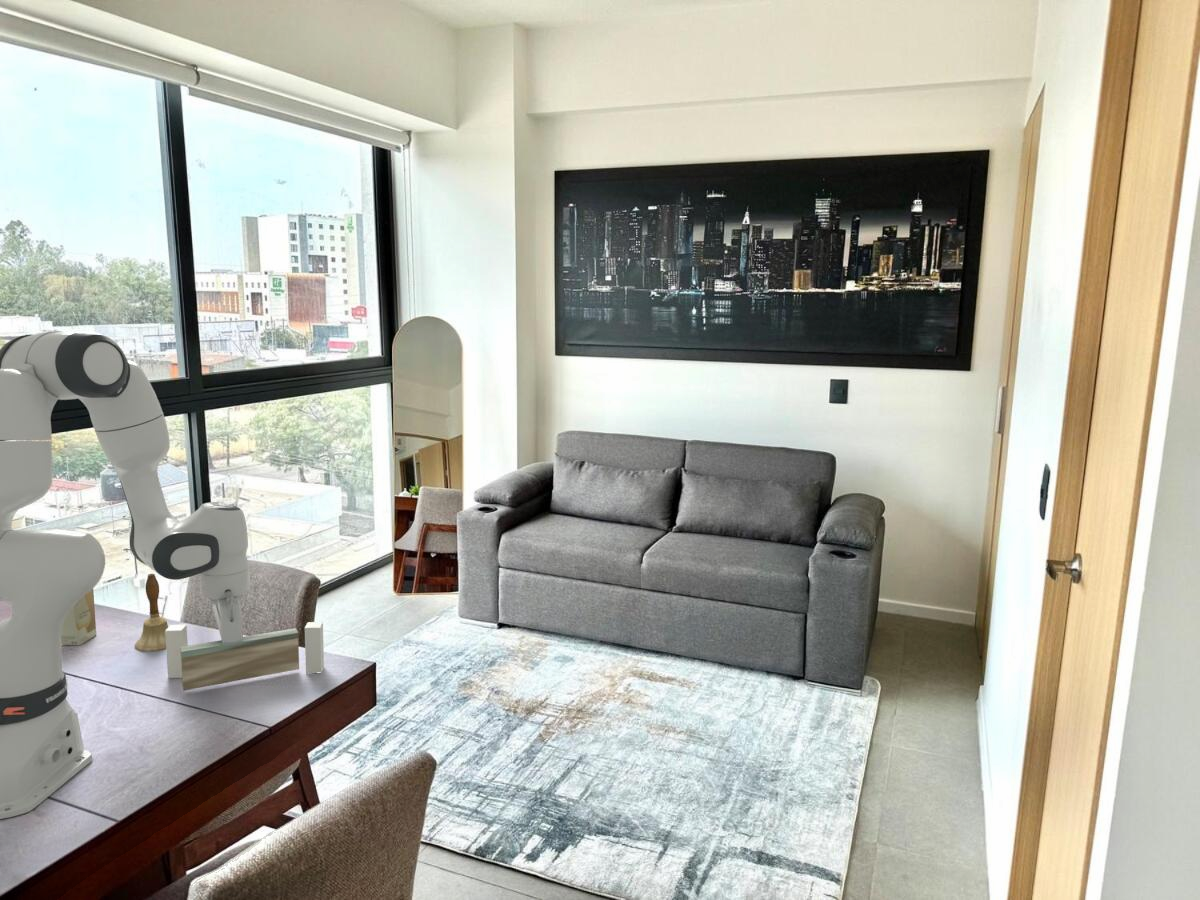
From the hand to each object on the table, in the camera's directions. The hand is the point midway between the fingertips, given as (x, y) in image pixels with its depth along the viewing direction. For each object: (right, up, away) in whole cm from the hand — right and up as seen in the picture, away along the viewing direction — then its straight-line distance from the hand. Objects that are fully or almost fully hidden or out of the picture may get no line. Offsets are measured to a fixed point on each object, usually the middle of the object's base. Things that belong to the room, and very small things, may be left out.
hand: (228, 649), depth 165 cm
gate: (+3, -5, -1) cm, 6 cm away
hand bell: (-23, -3, +16) cm, 28 cm away
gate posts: (+2, -6, +4) cm, 7 cm away
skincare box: (-40, -2, +16) cm, 44 cm away
